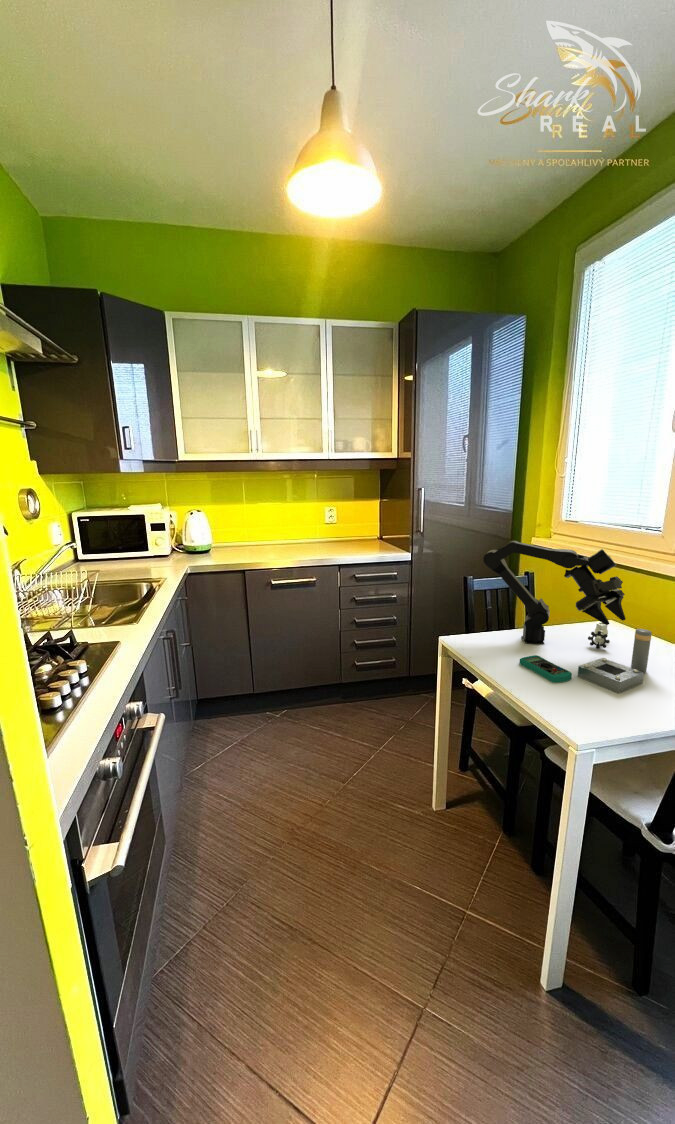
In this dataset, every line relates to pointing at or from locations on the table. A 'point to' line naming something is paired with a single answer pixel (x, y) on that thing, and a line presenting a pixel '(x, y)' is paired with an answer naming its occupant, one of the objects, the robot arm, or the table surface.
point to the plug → (641, 650)
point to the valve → (599, 635)
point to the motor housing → (610, 675)
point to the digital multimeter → (546, 669)
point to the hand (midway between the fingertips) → (616, 622)
